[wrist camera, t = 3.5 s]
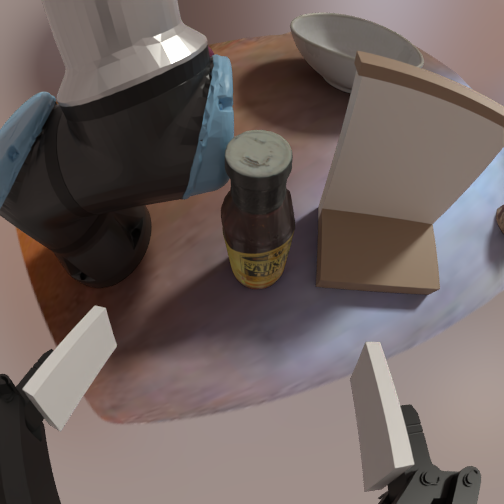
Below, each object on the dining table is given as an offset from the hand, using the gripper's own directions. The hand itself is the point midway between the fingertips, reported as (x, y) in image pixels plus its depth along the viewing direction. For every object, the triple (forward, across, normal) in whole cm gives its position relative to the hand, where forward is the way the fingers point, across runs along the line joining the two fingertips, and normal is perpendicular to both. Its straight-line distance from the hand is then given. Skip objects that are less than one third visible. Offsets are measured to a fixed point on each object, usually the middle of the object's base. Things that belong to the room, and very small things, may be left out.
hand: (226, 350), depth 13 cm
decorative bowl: (+51, +15, +25) cm, 59 cm away
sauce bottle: (+21, 0, -6) cm, 21 cm away
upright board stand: (+23, +15, -3) cm, 28 cm away
